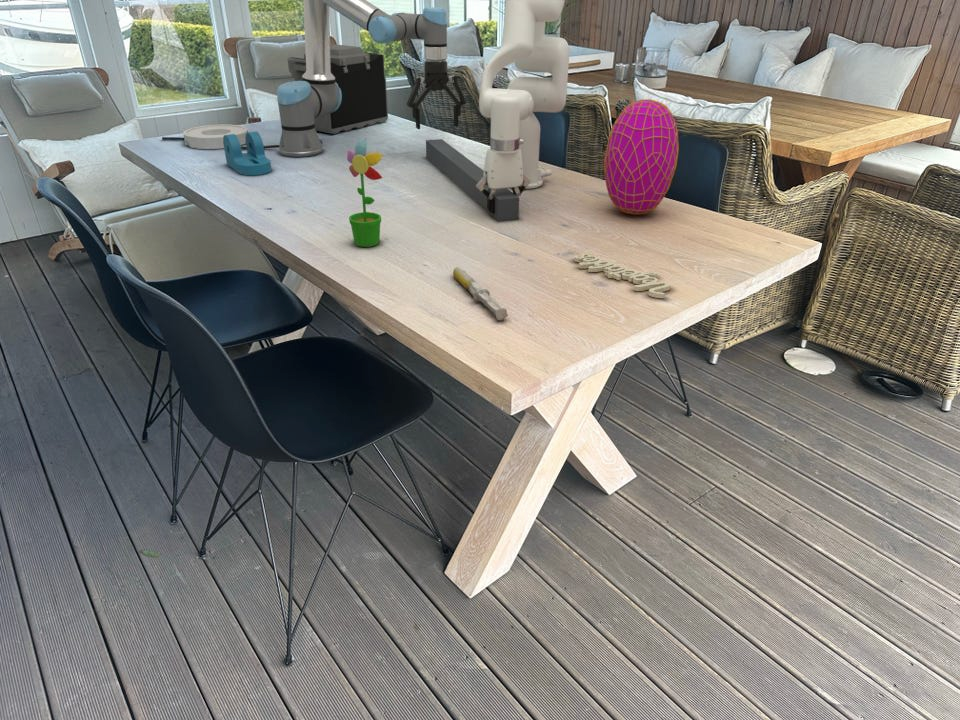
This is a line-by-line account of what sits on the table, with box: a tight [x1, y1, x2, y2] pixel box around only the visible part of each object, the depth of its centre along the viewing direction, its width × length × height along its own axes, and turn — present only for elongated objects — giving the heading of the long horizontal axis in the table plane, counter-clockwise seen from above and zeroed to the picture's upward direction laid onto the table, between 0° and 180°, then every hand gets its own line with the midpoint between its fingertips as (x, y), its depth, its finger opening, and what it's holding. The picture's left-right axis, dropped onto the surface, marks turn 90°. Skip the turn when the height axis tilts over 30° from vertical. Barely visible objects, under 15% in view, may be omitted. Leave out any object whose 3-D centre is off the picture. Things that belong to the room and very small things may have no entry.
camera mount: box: [223, 131, 272, 176], centre depth 226 cm, size 18×10×10 cm, turn 35°
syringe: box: [452, 266, 509, 321], centre depth 145 cm, size 25×4×3 cm, turn 21°
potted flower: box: [346, 138, 383, 248], centre depth 165 cm, size 9×8×25 cm
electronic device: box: [287, 43, 389, 135], centre depth 281 cm, size 37×22×30 cm, turn 144°
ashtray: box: [182, 123, 249, 150], centre depth 260 cm, size 23×23×4 cm
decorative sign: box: [574, 252, 671, 299], centre depth 155 cm, size 26×1×10 cm
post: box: [425, 138, 520, 223], centre depth 215 cm, size 72×6×6 cm, turn 20°
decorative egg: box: [603, 98, 680, 215], centre depth 186 cm, size 19×19×30 cm
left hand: (437, 127), depth 236 cm, fingers open, 13 cm apart
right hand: (502, 210), depth 190 cm, fingers closed on post, 6 cm apart
